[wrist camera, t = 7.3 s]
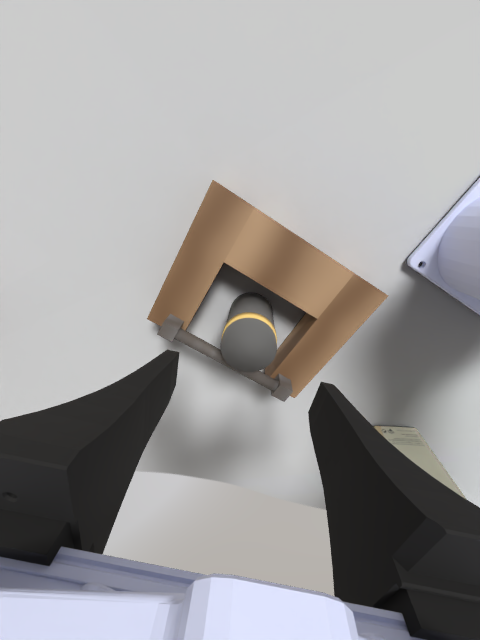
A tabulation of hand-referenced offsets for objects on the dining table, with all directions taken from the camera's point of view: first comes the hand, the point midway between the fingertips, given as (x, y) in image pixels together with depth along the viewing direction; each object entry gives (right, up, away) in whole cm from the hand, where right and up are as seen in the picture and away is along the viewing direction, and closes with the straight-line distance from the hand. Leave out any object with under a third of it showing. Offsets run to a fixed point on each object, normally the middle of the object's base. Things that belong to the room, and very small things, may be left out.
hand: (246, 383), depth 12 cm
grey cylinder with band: (+1, +4, +9) cm, 10 cm away
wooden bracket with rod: (+1, +5, +8) cm, 10 cm away
